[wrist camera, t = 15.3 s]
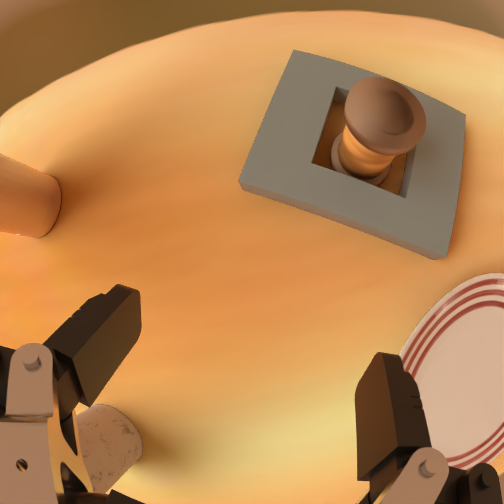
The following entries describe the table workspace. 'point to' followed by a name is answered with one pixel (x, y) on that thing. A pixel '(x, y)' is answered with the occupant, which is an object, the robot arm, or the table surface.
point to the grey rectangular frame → (348, 188)
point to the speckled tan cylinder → (107, 445)
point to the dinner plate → (462, 370)
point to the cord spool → (376, 129)
